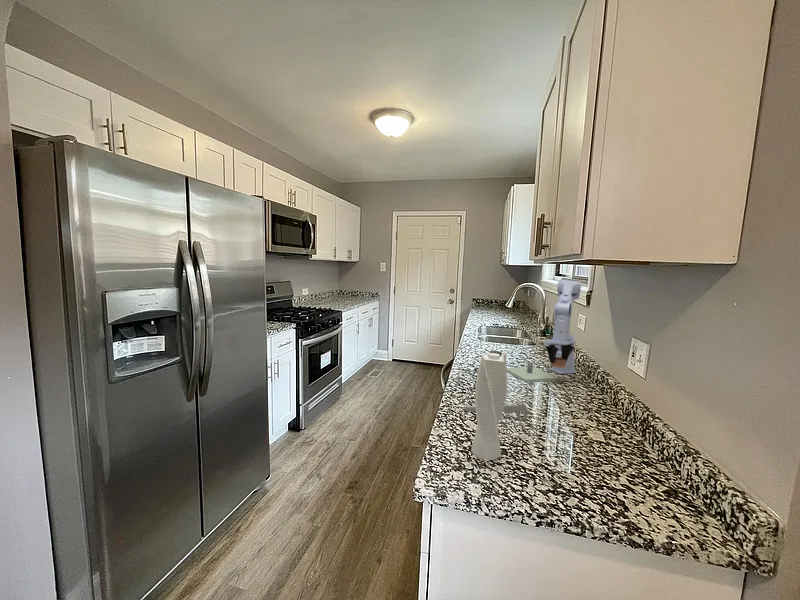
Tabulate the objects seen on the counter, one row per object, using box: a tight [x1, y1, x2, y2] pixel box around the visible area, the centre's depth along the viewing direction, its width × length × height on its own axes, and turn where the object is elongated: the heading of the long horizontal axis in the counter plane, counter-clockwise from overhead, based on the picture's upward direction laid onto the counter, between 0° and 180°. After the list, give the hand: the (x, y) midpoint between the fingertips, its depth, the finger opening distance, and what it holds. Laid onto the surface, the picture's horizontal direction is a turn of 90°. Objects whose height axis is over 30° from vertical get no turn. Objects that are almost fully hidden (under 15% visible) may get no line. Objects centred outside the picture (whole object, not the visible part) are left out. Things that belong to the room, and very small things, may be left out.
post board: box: [506, 362, 558, 383], centre depth 153 cm, size 16×16×6 cm
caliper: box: [461, 401, 528, 422], centre depth 109 cm, size 20×1×6 cm, turn 72°
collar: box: [549, 357, 566, 368], centre depth 143 cm, size 6×6×3 cm
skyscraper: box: [470, 350, 508, 463], centre depth 84 cm, size 8×8×28 cm
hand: (557, 362), depth 143 cm, fingers closed on collar, 6 cm apart
